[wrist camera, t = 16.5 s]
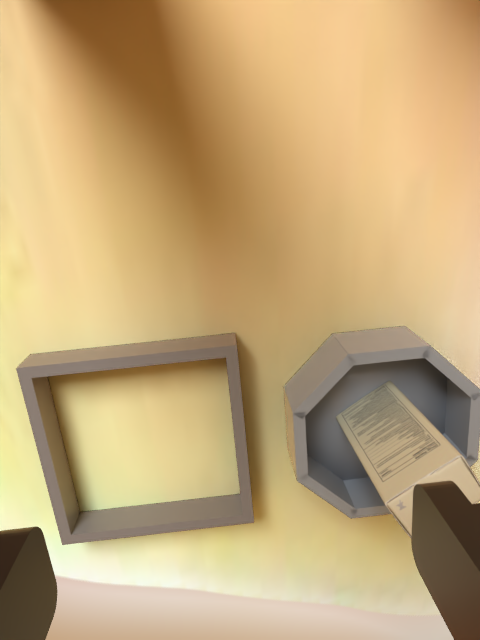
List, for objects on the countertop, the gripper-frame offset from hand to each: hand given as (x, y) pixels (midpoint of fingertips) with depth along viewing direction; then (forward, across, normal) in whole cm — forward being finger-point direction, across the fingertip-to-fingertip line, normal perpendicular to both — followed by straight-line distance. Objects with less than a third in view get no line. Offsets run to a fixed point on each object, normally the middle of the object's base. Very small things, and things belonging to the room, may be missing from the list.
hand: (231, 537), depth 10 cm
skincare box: (+29, -13, +15) cm, 35 cm away
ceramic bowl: (+30, -13, +15) cm, 36 cm away
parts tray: (+30, +8, +15) cm, 35 cm away
